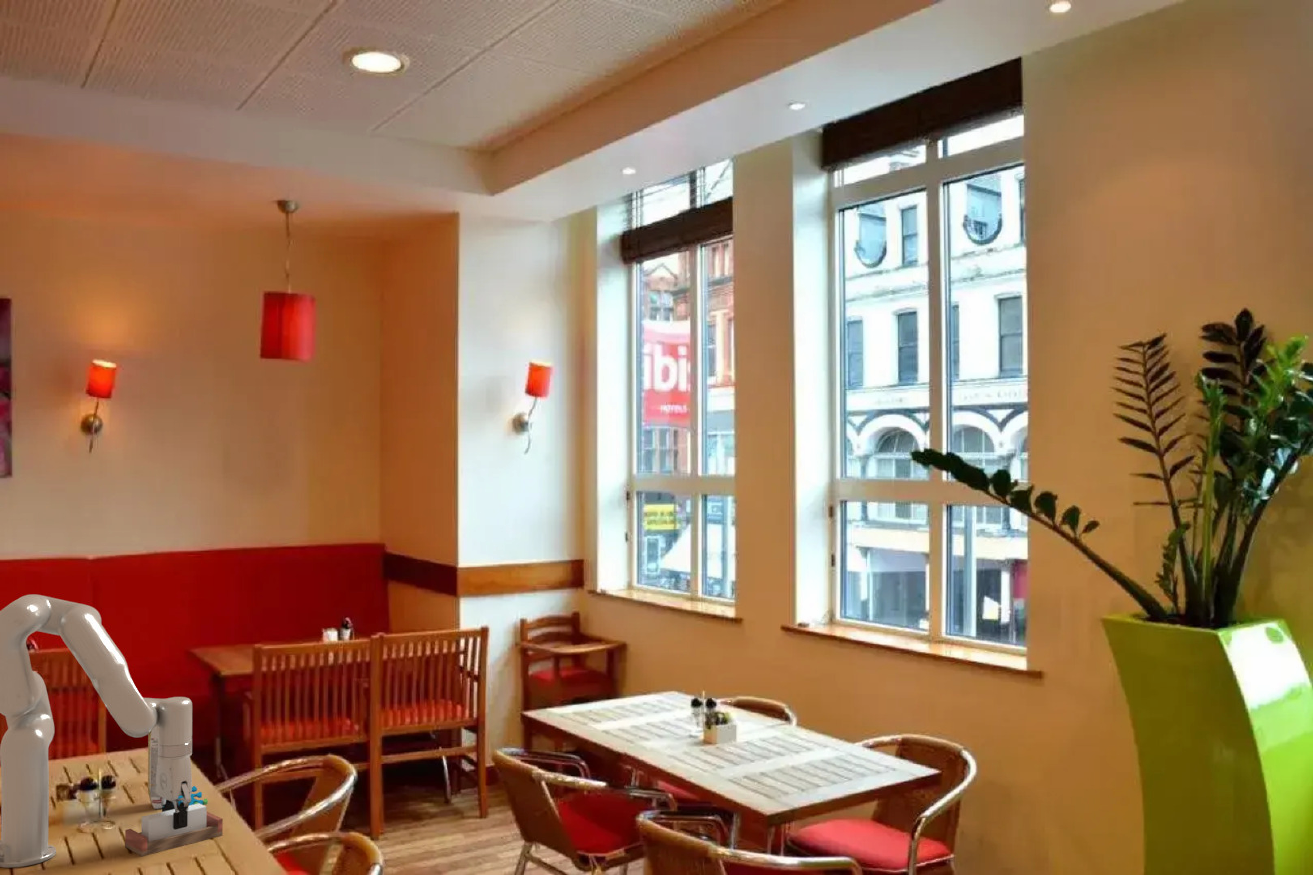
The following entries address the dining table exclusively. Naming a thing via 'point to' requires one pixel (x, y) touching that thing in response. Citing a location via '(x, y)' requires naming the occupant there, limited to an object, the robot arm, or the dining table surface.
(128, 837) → the cradle
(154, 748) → the juice carton
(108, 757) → the dining table surface
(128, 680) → the robot arm
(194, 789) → the blue spiky virus model
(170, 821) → the long white brick
